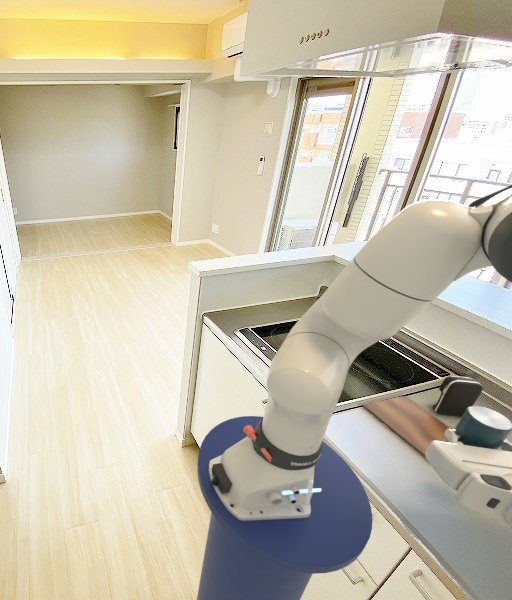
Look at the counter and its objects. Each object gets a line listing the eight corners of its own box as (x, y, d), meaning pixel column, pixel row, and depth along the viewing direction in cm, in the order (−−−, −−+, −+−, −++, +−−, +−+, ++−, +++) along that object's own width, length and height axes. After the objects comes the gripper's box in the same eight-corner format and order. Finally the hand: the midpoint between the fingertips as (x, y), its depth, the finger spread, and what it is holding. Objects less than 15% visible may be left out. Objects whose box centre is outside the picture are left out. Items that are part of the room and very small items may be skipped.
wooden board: (429, 461, 77) (430, 459, 77) (362, 406, 93) (363, 404, 93) (476, 448, 80) (477, 447, 79) (403, 397, 95) (404, 395, 95)
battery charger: (456, 407, 91) (476, 375, 86) (466, 418, 88) (487, 385, 83) (427, 404, 93) (444, 372, 87) (435, 414, 89) (454, 382, 84)
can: (465, 477, 63) (497, 433, 57) (432, 451, 68) (458, 408, 63) (489, 470, 64) (523, 426, 58) (455, 445, 69) (483, 402, 64)
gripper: (634, 507, 48) (549, 432, 60) (465, 478, 53) (417, 414, 65) (606, 531, 51) (530, 455, 63) (448, 502, 56) (405, 436, 68)
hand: (472, 434), depth 64 cm, fingers closed on can, 6 cm apart
